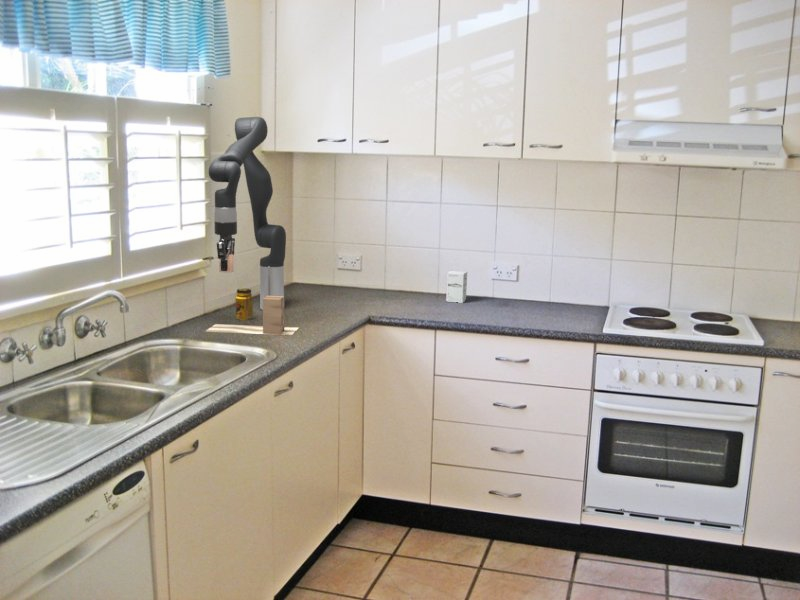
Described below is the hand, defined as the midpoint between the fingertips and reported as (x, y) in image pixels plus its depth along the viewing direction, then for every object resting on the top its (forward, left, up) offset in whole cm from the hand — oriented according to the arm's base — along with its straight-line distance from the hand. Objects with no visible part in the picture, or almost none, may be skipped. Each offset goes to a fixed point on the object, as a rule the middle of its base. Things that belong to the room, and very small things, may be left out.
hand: (226, 269), depth 291 cm
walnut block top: (+5, +18, -14) cm, 23 cm away
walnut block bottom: (+5, +18, -20) cm, 27 cm away
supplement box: (-71, +79, -21) cm, 108 cm away
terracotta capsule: (0, 0, -1) cm, 1 cm away
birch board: (+2, +10, -21) cm, 23 cm away
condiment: (-15, +3, -22) cm, 26 cm away
